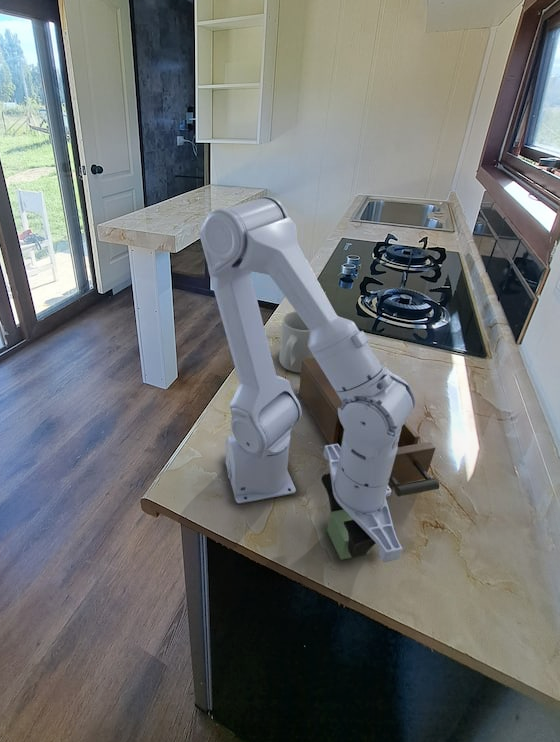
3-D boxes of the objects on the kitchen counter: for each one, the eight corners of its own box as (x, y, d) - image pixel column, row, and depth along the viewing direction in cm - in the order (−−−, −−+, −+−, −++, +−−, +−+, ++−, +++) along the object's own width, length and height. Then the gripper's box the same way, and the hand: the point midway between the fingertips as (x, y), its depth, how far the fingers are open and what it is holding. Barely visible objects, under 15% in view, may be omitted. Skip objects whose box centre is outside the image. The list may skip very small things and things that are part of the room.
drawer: (446, 504, 56) (458, 472, 53) (380, 518, 54) (388, 485, 51) (375, 416, 71) (382, 387, 68) (323, 424, 70) (327, 395, 67)
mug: (287, 346, 94) (290, 307, 89) (321, 357, 89) (327, 316, 85) (267, 374, 85) (269, 332, 80) (304, 387, 80) (309, 343, 76)
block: (340, 560, 50) (344, 541, 48) (326, 530, 54) (329, 511, 52) (368, 554, 51) (373, 535, 49) (353, 524, 54) (357, 506, 53)
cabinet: (393, 439, 68) (403, 401, 64) (332, 449, 66) (338, 412, 62) (350, 385, 81) (356, 351, 77) (298, 392, 79) (302, 358, 75)
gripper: (437, 518, 40) (410, 590, 46) (362, 416, 53) (348, 483, 59) (375, 530, 39) (356, 602, 45) (313, 424, 52) (305, 491, 58)
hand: (348, 535), depth 52 cm, fingers closed on block, 4 cm apart
